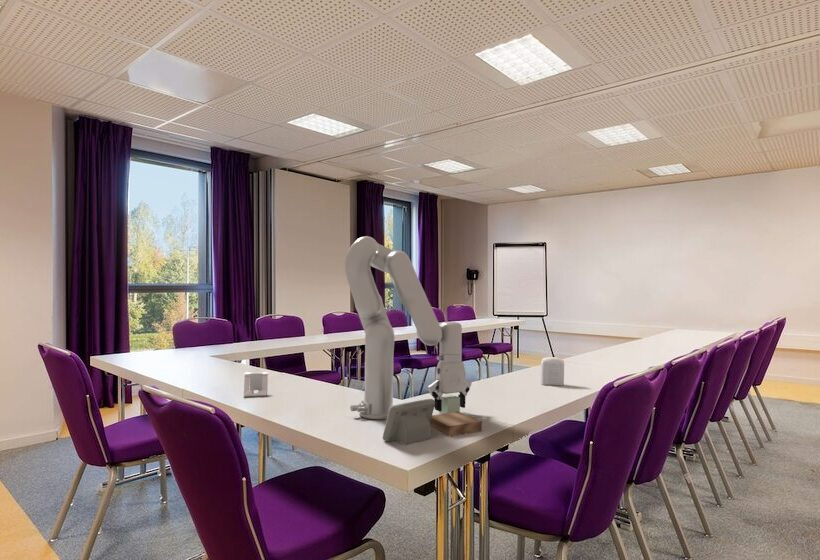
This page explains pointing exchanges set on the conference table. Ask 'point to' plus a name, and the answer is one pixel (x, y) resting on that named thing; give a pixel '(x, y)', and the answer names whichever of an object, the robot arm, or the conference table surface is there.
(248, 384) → the portable electronic device stand
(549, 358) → the photo printer
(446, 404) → the sage block
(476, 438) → the conference table surface
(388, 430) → the digital clock
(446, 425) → the wooden square slab
